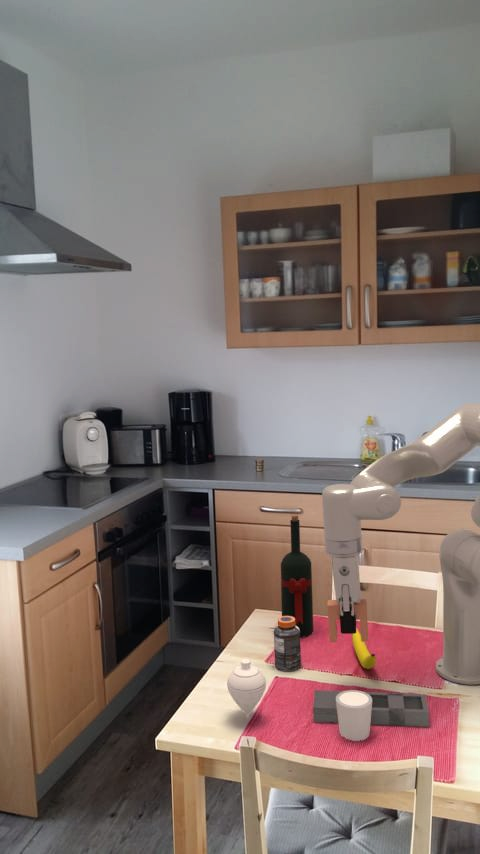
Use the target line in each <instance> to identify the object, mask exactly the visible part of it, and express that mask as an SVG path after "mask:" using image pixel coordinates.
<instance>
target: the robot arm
mask: <svg viewBox="0 0 480 854" xmlns="http://www.w3.org/2000/svg"><path fill="white" fill-rule="evenodd" d="M478 446H479V447H480V403H476V402H475V403H474V402H470V403H465V404H463V405H461V406H460V407H458V408H457V409H455V410H454V411H452V413H450V414H449V415H447V416H446V417H445V418H444V419H442V420H441V421H440V422H438V424H436V425H435V426H433V427H432V428H431V429H429V430H428V431H427V432H425V433H424V434H423V435H422V436H420V437H418V439H415V441H413V442H411V443H410V442H409V444H406V445H403V446H402V447H399V448H397V449H395V450H393V451H390V452H388V453H386V454H385V455H383V456H381V457H379V458H378V459H376V460H374V461H373V462H372V463H371V464H370V465H368V466H366V467H365V468H364V469H362V470H361V472H359V473H358V474H357V475H356V476H355V477H354V478H353V479H352V481H350V484H349V483H336V484H332V485H328V486H326V487H325V488H324V489H323V490H322V493H321V501H322V516H323V532H324V533H323V534H324V549H325V554H326V555H328V556H329V557H331V565H332V566H331V567H332V577H333V588H334V593H335V594H334V595H335V600H336V602H337V603H339V602H340V611H341V614H340V619H339V623H340V625H339V626H340V633H341V634H344V635H345V634H349V635H350V634H355V633H356V628H357V619H356V616H355V614H354V602H357V603H359V602H360V599H361V582H360V580H361V579H360V565H359V563H360V562H359V555H360V554H362V553H363V540H362V538H363V537H362V524H361V523H362V522H361V521H363V520H364V521H383V520H384V521H385V520H388V519H390V518H392V517H394V516H396V515H397V514H398V512H399V511H400V508H401V505H402V499H401V496H400V493H399V492H398V490H397V489H396V487H397V486H398V485H401V484H403V483H404V482H407V481H410V480H413V479H416V478H424V477H432V476H436V475H439V474H442V473H444V472H446V471H447V470H449V468H451V467H452V466H454V464H455V463H457V462H458V461H460V460H461V459H462V458H464V457H465V456H467V454H468V453H470V452H471V451H472V450H474V449H475V448H477V447H478ZM470 509H471V510H470V517H471V520H472V522H473V523H474V524H475V526H477V527H478V528H479V529H480V494H478V496H477V498H476V499H475V501H474V502H473V505H472V506H471V508H470ZM438 552H439V564H440V571H441V575H442V576H441V577H442V588H443V589H442V593H443V594H442V595H443V597H442V598H443V600H442V601H443V602H442V604H443V605H442V606H443V607H442V609H443V611H442V612H443V613H442V614H443V615H442V619H443V620H442V622H443V625H442V627H443V628H442V631H443V632H442V634H443V635H442V640H443V641H442V643H443V644H442V646H443V647H442V649H443V650H442V651H443V652H442V655H443V656H442V657H440V658H439V659H438V660H437V661H436V662H435V671H436V672H437V674H438V675H439V676H440V677H442V678H443V679H445V680H447V681H450V682H453V683H456V684H460V685H461V684H462V685H470V686H471V685H472V686H473V685H480V534H478V533H477V532H475V531H472V530H469V529H463V528H462V529H461V528H460V529H455V530H452V531H450V532H449V533H447V534H446V535H445V536H444V537H443V539H442V541H441V543H440V546H439V551H438ZM349 604H351V606H349Z"/></svg>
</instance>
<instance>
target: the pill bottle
mask: <svg viewBox="0 0 480 854" xmlns="http://www.w3.org/2000/svg"><path fill="white" fill-rule="evenodd" d="M295 624H296V622H295V618H294V617H292V616H282V615H281V616H280V617H278V619H277V626H276V627H274V629H273V642H274V643H273V644H274V646H273V647H274V649H273V650H274V666H275V668H276V669H278V670H280V671H283V672H295V671H297V670H298V669H300V667H301V665H302V656H301V655H302V654H301V652H302V651H301V649H302V648H301V638H300V630H299V628H298V627H297V626H295Z"/></svg>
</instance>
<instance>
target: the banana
mask: <svg viewBox="0 0 480 854" xmlns="http://www.w3.org/2000/svg"><path fill="white" fill-rule="evenodd" d="M351 638H352V644H353V648H354V650H355V654H356V656H357V658H358V661H359V663H360V665H361V667H362V668H364V669H367V670H370V669H373V668H374V667H375V666H376V663H377V657H376V654H374V653H372V654H371V653H370V652H369V650H368V647H367V645H366V642H361V632H360V631H359V630H358V628H357V627H356V633H355V634H352V637H351Z"/></svg>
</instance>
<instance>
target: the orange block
mask: <svg viewBox="0 0 480 854" xmlns="http://www.w3.org/2000/svg"><path fill="white" fill-rule="evenodd" d="M326 606H327V619H328V620H327V621H328V635H329V636H328V637H329V643H337V642H338V628H337V627H338V625H337V624H338V623H337V620H340V614H341V611H340V602H339V603H337V602H336V599H328V600H327V605H326ZM349 606H351V604H349ZM354 614H355V616H356V620H359V625H360V635H361V642H364V643H367V642H369V625H368V624H369V623H368V622H369V621H368V607H367V599H366V598H364V599H361V598H360V602H359V603H357V602H354Z"/></svg>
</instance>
